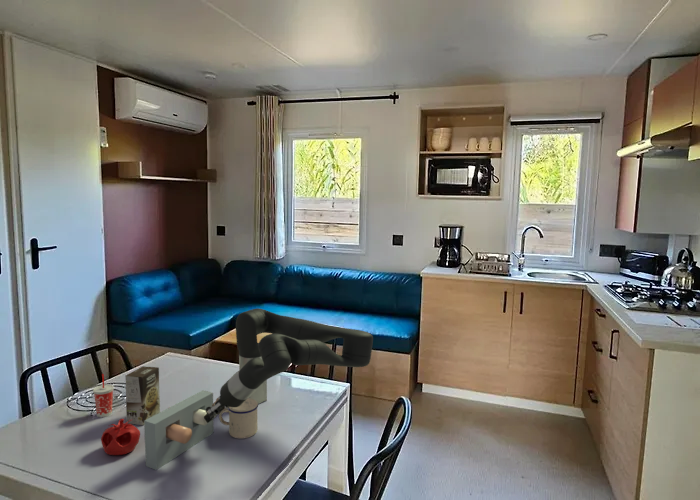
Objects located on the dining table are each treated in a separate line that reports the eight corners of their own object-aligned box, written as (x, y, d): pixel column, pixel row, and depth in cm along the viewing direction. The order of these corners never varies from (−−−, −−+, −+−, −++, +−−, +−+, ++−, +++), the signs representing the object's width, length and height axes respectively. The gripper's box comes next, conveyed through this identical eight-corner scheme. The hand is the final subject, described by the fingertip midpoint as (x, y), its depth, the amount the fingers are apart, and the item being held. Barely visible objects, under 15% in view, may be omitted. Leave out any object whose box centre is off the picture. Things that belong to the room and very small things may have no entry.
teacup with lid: (260, 424, 146) (260, 390, 145) (255, 439, 137) (255, 402, 136) (223, 424, 146) (222, 390, 144) (215, 439, 137) (215, 402, 135)
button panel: (145, 466, 123) (144, 420, 121) (203, 429, 142) (203, 390, 141) (156, 470, 121) (154, 424, 119) (213, 432, 141) (213, 392, 139)
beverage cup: (90, 415, 150) (88, 375, 148) (107, 408, 155) (105, 369, 154) (101, 420, 147) (99, 378, 146) (118, 412, 152) (117, 372, 151)
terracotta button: (162, 440, 125) (161, 426, 124) (173, 433, 128) (173, 420, 128) (181, 446, 122) (180, 432, 121) (192, 439, 125) (191, 425, 125)
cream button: (183, 422, 135) (182, 409, 134) (193, 416, 138) (192, 404, 138) (201, 427, 132) (200, 414, 131) (210, 421, 135) (210, 409, 135)
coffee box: (143, 425, 144) (142, 377, 142) (125, 423, 145) (124, 375, 143) (161, 412, 153) (159, 367, 151) (144, 410, 154) (142, 365, 152)
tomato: (114, 440, 135) (112, 411, 134) (146, 441, 135) (145, 411, 134) (94, 459, 125) (92, 426, 125) (129, 459, 125) (128, 427, 124)
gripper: (232, 407, 120) (197, 440, 126) (262, 389, 132) (229, 419, 138) (216, 384, 121) (183, 418, 128) (247, 368, 133) (215, 399, 140)
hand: (207, 419), depth 133 cm, fingers closed
